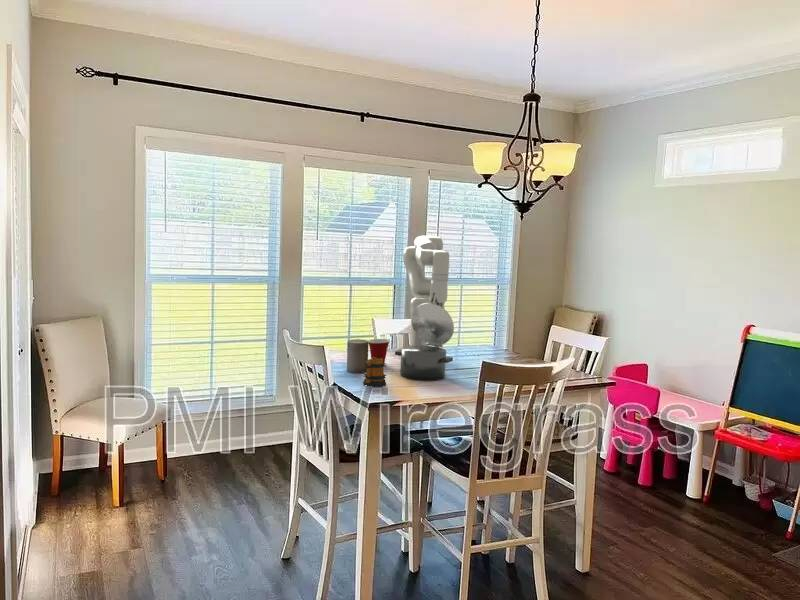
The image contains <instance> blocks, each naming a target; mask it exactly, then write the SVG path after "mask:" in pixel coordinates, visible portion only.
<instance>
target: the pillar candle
mask: <svg viewBox="0 0 800 600" xmlns="http://www.w3.org/2000/svg"><path fill="white" fill-rule="evenodd" d="M346 341H347V347H346V350H347V351H346V371H347V372H349V373H352V372H353V373H354V374H358V373H359V374H360V373H367V366H366V365H365V364H366V361H367V360H369V343H368V340H367V339H359V338H357V339H354V338H353V339H349V340H346Z"/></svg>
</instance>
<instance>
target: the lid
mask: <svg viewBox="0 0 800 600" xmlns="http://www.w3.org/2000/svg"><path fill="white" fill-rule="evenodd" d="M411 322H412V327H413V329H414V331H415V333H416V334H417V335H418V337H419V338H420V339H422V340H423V341H424V342H426V343H427V344H426V345H428V346H433V347H439V348H443V347H444V345H445V344H447V343H448V342H449V341H450V340H451V339H452V337H453V335H454V332H455V327H454V326H455V325H454V320H453V318H452V316H451V315H450V314H449V312H448V311H447V310H446V309H445V307H444V308H442V307H441V306H439V305H437V304H434V303H423V304H420V305H419V306H418V307H416V308H415V310H414V311H413V313H412V317H411V316H410V323H411Z"/></svg>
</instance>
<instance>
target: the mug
mask: <svg viewBox="0 0 800 600" xmlns="http://www.w3.org/2000/svg"><path fill="white" fill-rule="evenodd" d="M386 364H387V363H385V362H384V363H383V359H382V358H381V359H376V358H374V357H372V358H371V357H370V358H368V360H367V361H366V364H365V365H366V366H367V372H365V373H363V374H364V376H363V378H364V380H363V382H362V384H363V386H365V385H367V386H366V387H368V386H372V387H371V388H384V387H386V386H387V382H386V379H387V377H386V376H387V374H385V371H384V367H386V366H387V365H386ZM383 386H384V387H383Z"/></svg>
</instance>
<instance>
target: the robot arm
mask: <svg viewBox="0 0 800 600" xmlns="http://www.w3.org/2000/svg"><path fill="white" fill-rule="evenodd" d="M443 248H444V242H443V239H442V238H441V237H440V236H436V235H434V236H433V235H420V236H417V237H416V238H415V239H414V242H413V245H411V246H408V247H406V248H404V250H403V253H402V260H403V265H404V267H405V269H406V272H407V274H408V280H409V288H410V293H411V294H412V296H413V298H411V300H410V303H409V309H410V318H411V317H412V313H413V311H414V310H415V308H416V307H418V306H419V305H420V304H423V303H434V304H437V305H439V306H441V307H442V308H444V309H445V304H446V302H447V301H448V300H447V299H448V282H449V273H450V271H449V270H450V253H449V251H446V250H444V249H443ZM422 266H424V267H425V266H426V267H432V270H431V273H432V274H431V278H430V279H429V278H426V273H425V271H424V269H423V268H422ZM409 335H410V336H409V346H413V345H422V346H429V345H426V344H427V343H426V342H424V341H423V340H422V339H420V338H419V337H418V335H417V334H416V333H415V331H414V329H413V327H412V322H411V321H410V333H409Z"/></svg>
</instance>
